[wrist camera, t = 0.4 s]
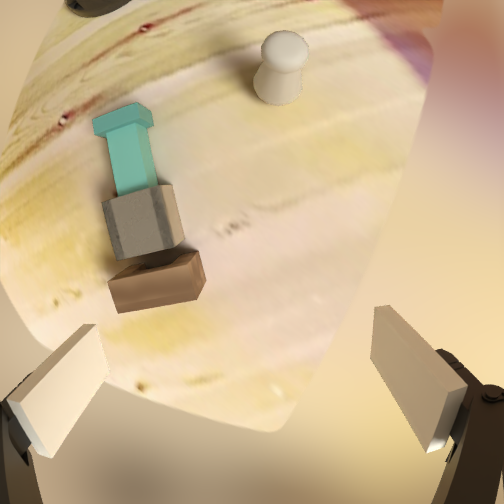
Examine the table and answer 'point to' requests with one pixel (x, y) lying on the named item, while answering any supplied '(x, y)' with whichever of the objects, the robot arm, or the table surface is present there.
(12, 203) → the table surface
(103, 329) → the table surface
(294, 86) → the salt shaker
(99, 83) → the table surface
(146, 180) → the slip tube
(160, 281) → the socket block
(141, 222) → the sleeve
